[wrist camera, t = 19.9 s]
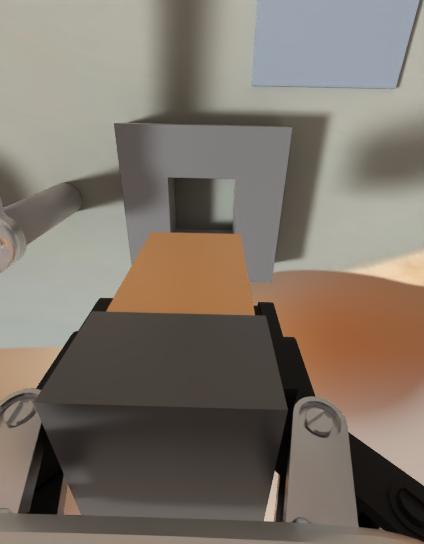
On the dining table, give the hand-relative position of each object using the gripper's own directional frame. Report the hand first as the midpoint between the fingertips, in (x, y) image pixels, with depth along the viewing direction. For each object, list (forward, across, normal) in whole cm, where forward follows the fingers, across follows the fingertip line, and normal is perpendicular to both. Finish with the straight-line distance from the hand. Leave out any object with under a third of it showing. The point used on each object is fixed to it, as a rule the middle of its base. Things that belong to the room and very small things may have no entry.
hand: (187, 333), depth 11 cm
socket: (+21, +4, 0) cm, 21 cm away
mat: (+21, -10, -16) cm, 28 cm away
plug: (+5, 0, 0) cm, 5 cm away
